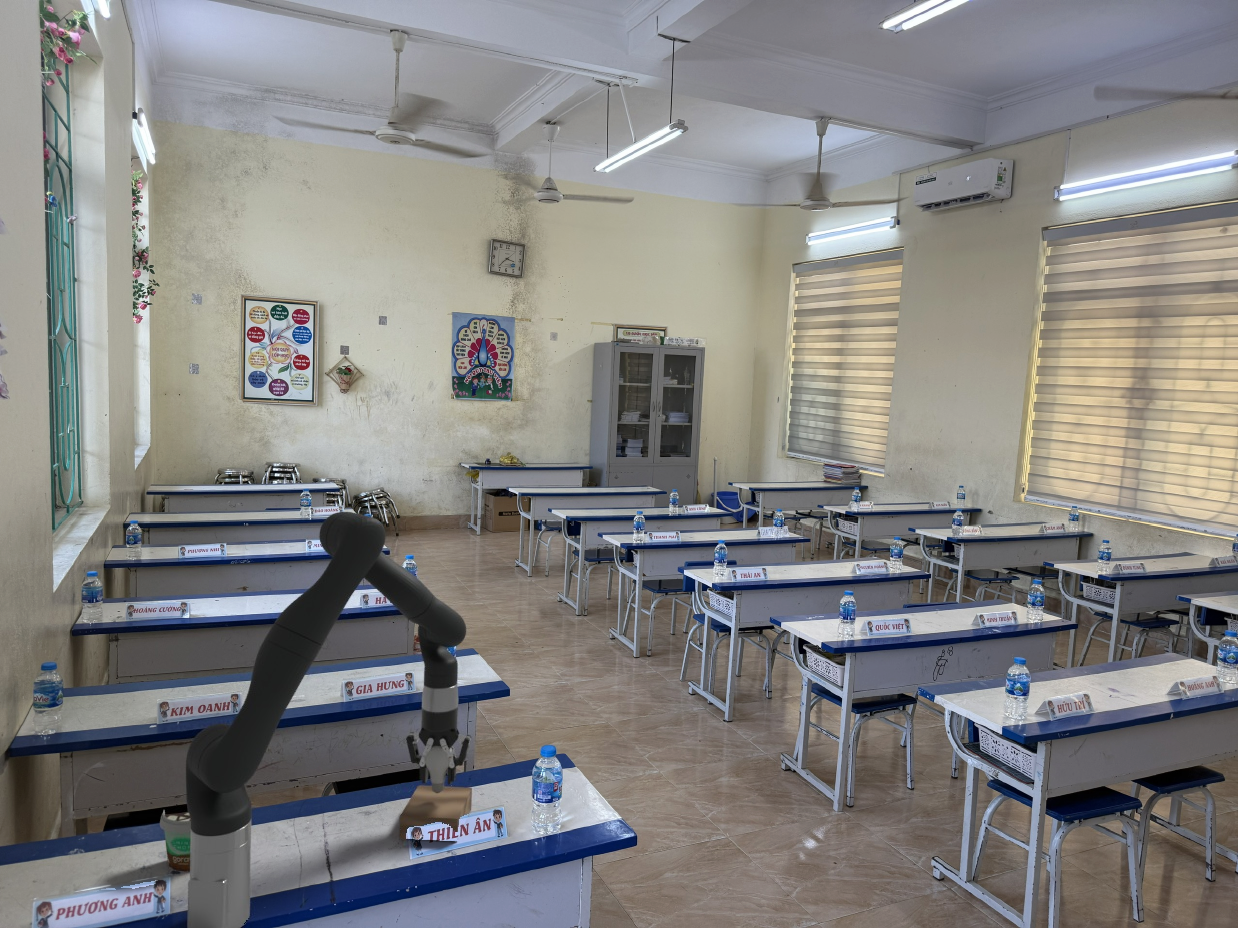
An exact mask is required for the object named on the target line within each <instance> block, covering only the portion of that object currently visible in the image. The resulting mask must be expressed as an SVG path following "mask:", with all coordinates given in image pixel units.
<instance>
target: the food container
mask: <svg viewBox="0 0 1238 928" xmlns="http://www.w3.org/2000/svg"><path fill="white" fill-rule="evenodd" d="M159 826H160V828H161V829H162V830H163V831H164V839H165V840H164V841H165V848H166V850H165V851H166V857H167V865H168V867H169V869H170V870H173V871H176V872H184V873H185V872H190V844H191V820H190V815H189V812H188V811H185V812H179V813H177V812H176V813H169V814H166V812H165V809H163V812H162V813H161V816H160V821H159Z"/></svg>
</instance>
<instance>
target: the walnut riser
mask: <svg viewBox="0 0 1238 928" xmlns="http://www.w3.org/2000/svg"><path fill="white" fill-rule="evenodd" d="M472 795H473V787H465V786H464V787H462V786H444V789H443V791H441V792H440V793H435V792H433V791H432V785H424V784H421V785H418V786H417V787H416V789H415V790H414V792H413V793H412V795H411V797H410V799H409V801H407V804H406V805H405V807H404V808H403V810H402V812H401V814H400V815H399V833H398V834H399V841H400V840H401V841H403V840H404V841H407V840H406V833H407V829H408V828H409V827H414V826H424V825H427V824H431V823H435V822H442V824H443V823H444V824H447V825H448V824H449V826H451V828H453V831H454V830H455V832H458V825H459V819H460V817H462V816H464V815H467V814H469V813H471V812H472V802H473V801H472V797H473V796H472ZM469 815H470V814H469Z"/></svg>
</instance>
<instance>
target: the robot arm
mask: <svg viewBox="0 0 1238 928" xmlns="http://www.w3.org/2000/svg"><path fill="white" fill-rule="evenodd" d="M319 529H320V530H319V534H318V535H319V543H320V545H321V547H322V549H323V550H324V552H325V553H326V554H328V555H329V556H330V557H332V558H331V559H330V561H329V563H328V565H327V566H326V568H325V570H324V571H323V573H322V574H321V575H320V577H319V578H318V580H316V581H315V582H314V584H312V585H311V587H309V588H308V589H307V590H305V592H303V593H302V594H301V595H299V596H298V597H297V598H295V600H293V601H292V602H291V603H290V604H288V606H287V607H285V609H284V610H283V611H282V612H281V613H280V614H279V615H278V617H277V618H276V619H275V621H274V623H273V624H272V626H271V628H270V629H269V631H268V633H267V634H266V636H265V637H264V640H263V642H262V643H261V645H260V647H259V649H258V652H257V654H256V658H255V661H254V664H253V668H252V674H251V680H250V684H249V687H248V692H247V693H246V697H245V699H244V702H243V703H242V706H241V708H240V710H239V711H238V713H237V715H236V716H235V718H234V719H233V721H232V722H231V724H228V723H214V724H211V725H209V726H207V727H205V728H203V729H202V730H201V731H200V732H198V733H197V734H196V735H195V737H193V739H192V741H191V742H190V744H189V747H188V749H187V754H186V759H185V793H186V795H185V796H186V798H185V799H186V807H187V812H189V815H190V820H191V844H190V871H189V880H188V882H187V924H186V925H187V926H186V927H187V928H242V927H243V926H244V925H245V924H246V923H247V922H246V920H248V921H249V919H250V913H251V912H250V911H251V864H252V863H251V861H252V860H251V859H252V857H251V856H252V855H251V854H252V853H251V851H252V814H253V812H252V810H253V809H252V808H253V807H252V801H251V800H250V796H249V795H248V792H247V790H246V787H245V784H247V783H248V782H249V781H250V780H251V779H252V777H253V776H254V775H255V773H256V772H257V770H258V768H259V766H260V764H261V763H262V760H263V758H264V756H265V754H266V752H267V749H268V748H269V745H270V743H271V740H272V739H273V736H274V734H275V732H276V729H277V727H278V725H279V723H280V721H281V719H282V717H283V716H284V713H285V711H287V708H288V706H289V704H290V703H291V701H292V699H293V697H295V696H294V695H295V694H296V692H297V690H298V688H299V686H300V684H301V683H302V681H303V679H304V677H305V676H306V674H307V673H308V671H309V670H310V668H311V666H312V665H313V663H314V661H315V660H316V658H317V656H318V654H319V652H320V651H321V649H322V648H323V647H322V646H324V643H325V642H326V640H327V638H328V636H329V634H330V633H331V631H332V628H333V627H334V625H335V624H336V623H337V620H338V619H339V617H340V615H341V613H342V612H343V610H345V607H346V606H347V604H348V602H349V601H350V599H351V597H352V596H353V594H354V593H355V591H356V590H357V588H358V587H359V586H360V584H361V582H362V581H363V579H365V580H366V582H368V583H369V584H370V585H372V586H373V587H374V588H375V589H376V590H377V591H378V592H379V593H380V594H381V595H383V597H384V598H385V599H387V601H389V602H390V603H391V604H392V605H393V607H395V608H396V609H397V610H398V611H399V612H400V614H402V615H403V616H404V617H405V618H406V619H407V620H408V621H410V622H412V623H414V624H416V625H418V626H417V627H418V628H417V637H418V642H419V648H420V653H421V658H422V660H423V664H424V667H423V668H424V669H423V687H422V688H423V689H422V695H421V721H420V722H421V726H420V728H421V729H420V731H419V732H414V731H411V732H409V734H408V735H407V736H406V738H405V741H406V745H407V750H408V754H409V758H410V762H411V763H412V764H416V765H418V767H419V777H418V778H419V781H421V783H422V784H427V782H428V780H429V770H428V768H427V766H426V764H425V761H424V757H425V756H426V754H427V752H428V751H430V750H431V748H432V747H433V746H442V749H443V751H444V752H445V753H446V754H447V756H448V758H450V763H449V767H448V770H447V782H446V784H447V785H448V786H450V785H452V784H453V783H454V782H455V780H456V778H457V767H458V766H459V767H460V766H463V765H464V762H465V760H466V757H467V755H468V751H469V747H470V744H471V740H472V736H471V735H470V734H467V735H464V734H461V733H460V732H459V729H458V714H459V713H458V712H459V710H458V709H459V707H458V706H459V687H458V677H459V676H458V673H459V672H458V671H459V668H458V667H459V666H458V665H459V664H458V659H457V657H456V656H455V655H453V654H452V653H450V651H449V650H448V648H454V647H457V646H459V645H461V643H463V642H464V640H465V638H466V635H467V625H466V622H465V620H464V618H463V617H462V616H461V615H460V614H459V613H458V612H457V611H456V610H455V609H453V608H452V607H450V606H449V605H448V604H446V603H445V602H443V601H442V600H440V599H438V597H436V596H435V595H434V594H433V593H432V591H431V590H430V589H428V587H427V586H426V585H425V584H424V583H423V582H422V581H421V580H419V578H418V577H416V576H415V575H414V574H413V573H411V572H410V571H409V570H407V569H406V568H404V567H403V566H401V565H400V564H399V563H397V562H396V561H394V560H393V559H392V558H390V556H388V555H387V554H386V553H384V552H383V549H384V546H385V543H386V529H385V527H384V524H383V523H382V522H381V521H380V520H379V519H377V518H375V517H372V516H368V515H366V514H365V515H364V514H361V513H356V512H352V511H338V512H335V513H332V514H330V515H329V516H328V517H327V518H326V519H325V520H324V521H323V522H322V524H321V527H320V528H319ZM419 739H420V741H421V742H422V744H423V745H424V750H423V752H422V755H420V751H419V746H418V742H419ZM457 741H458V742H459V746H460V747H461V749H460V752H459V756H458V757H457V756H456V749H455V747H454V744H455V743H456V742H457ZM450 748H451V749H452V752H450ZM248 918H249V919H248ZM245 922H246V923H245ZM244 923H245V924H244Z"/></svg>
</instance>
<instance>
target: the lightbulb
mask: <svg viewBox="0 0 1238 928" xmlns="http://www.w3.org/2000/svg"><path fill="white" fill-rule="evenodd" d="M450 752H452V749H451V748H450ZM424 761H425V764H426V766H427V768H428V773H429V776H430V777H429V778H430V780H429V781H430V782H431V784H430V785H431V786H432V791H433V792H435V793H440V792H441V791H443V789H444V787H445V781H446V778H447V777H446V776H447V774H448V767H449V763H450V758H448V756H447V754H446V753H445V752H444V751H443V749H442V746H433V747H432V748H431V750H430V751H428V752H427V754H426V756H425V757H424Z"/></svg>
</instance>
